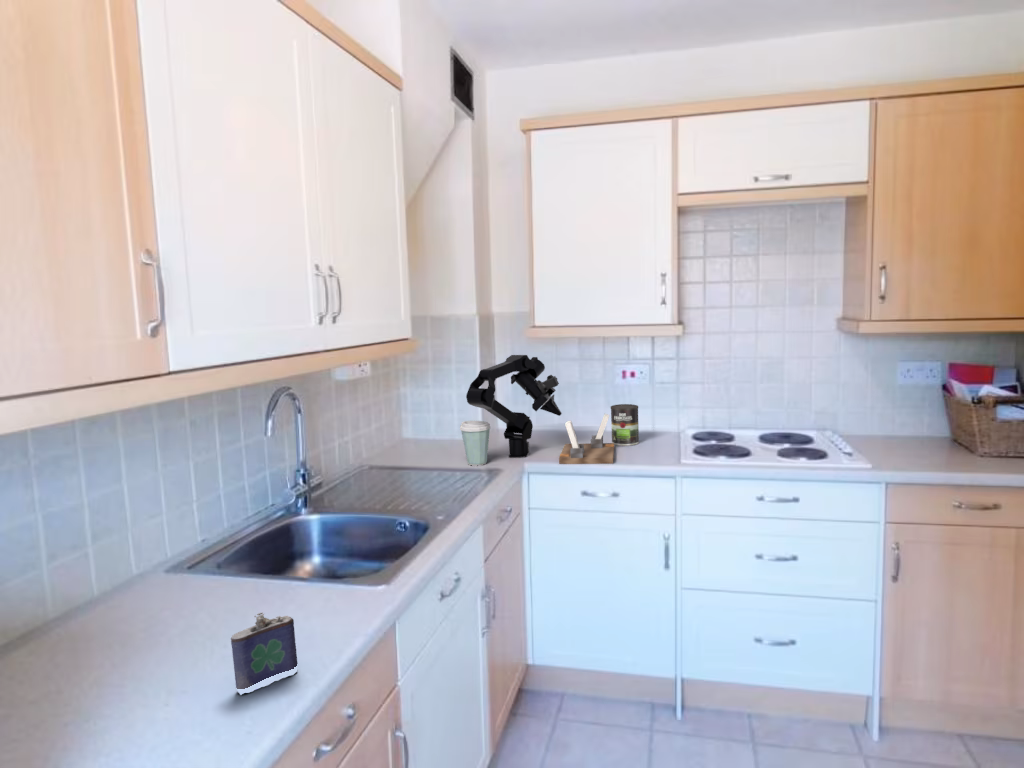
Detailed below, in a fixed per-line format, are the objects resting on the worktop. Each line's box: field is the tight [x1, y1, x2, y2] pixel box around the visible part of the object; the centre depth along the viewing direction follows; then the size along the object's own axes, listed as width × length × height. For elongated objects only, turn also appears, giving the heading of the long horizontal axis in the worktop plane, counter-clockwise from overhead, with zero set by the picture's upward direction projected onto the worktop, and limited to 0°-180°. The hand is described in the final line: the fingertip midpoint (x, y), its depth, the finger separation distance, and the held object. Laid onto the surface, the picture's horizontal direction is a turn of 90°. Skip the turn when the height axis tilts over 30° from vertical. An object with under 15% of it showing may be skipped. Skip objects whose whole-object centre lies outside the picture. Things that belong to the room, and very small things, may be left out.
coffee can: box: [610, 403, 640, 447], centre depth 246 cm, size 10×10×14 cm
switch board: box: [558, 434, 615, 465], centre depth 229 cm, size 18×22×5 cm
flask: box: [230, 612, 299, 689], centre depth 99 cm, size 9×3×11 cm, turn 129°
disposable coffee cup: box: [459, 420, 491, 467], centre depth 226 cm, size 11×11×15 cm
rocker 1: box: [564, 420, 580, 448], centre depth 223 cm, size 2×4×12 cm, turn 170°
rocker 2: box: [595, 413, 610, 439], centre depth 235 cm, size 2×4×12 cm, turn 170°
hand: (560, 414), depth 237 cm, fingers closed
